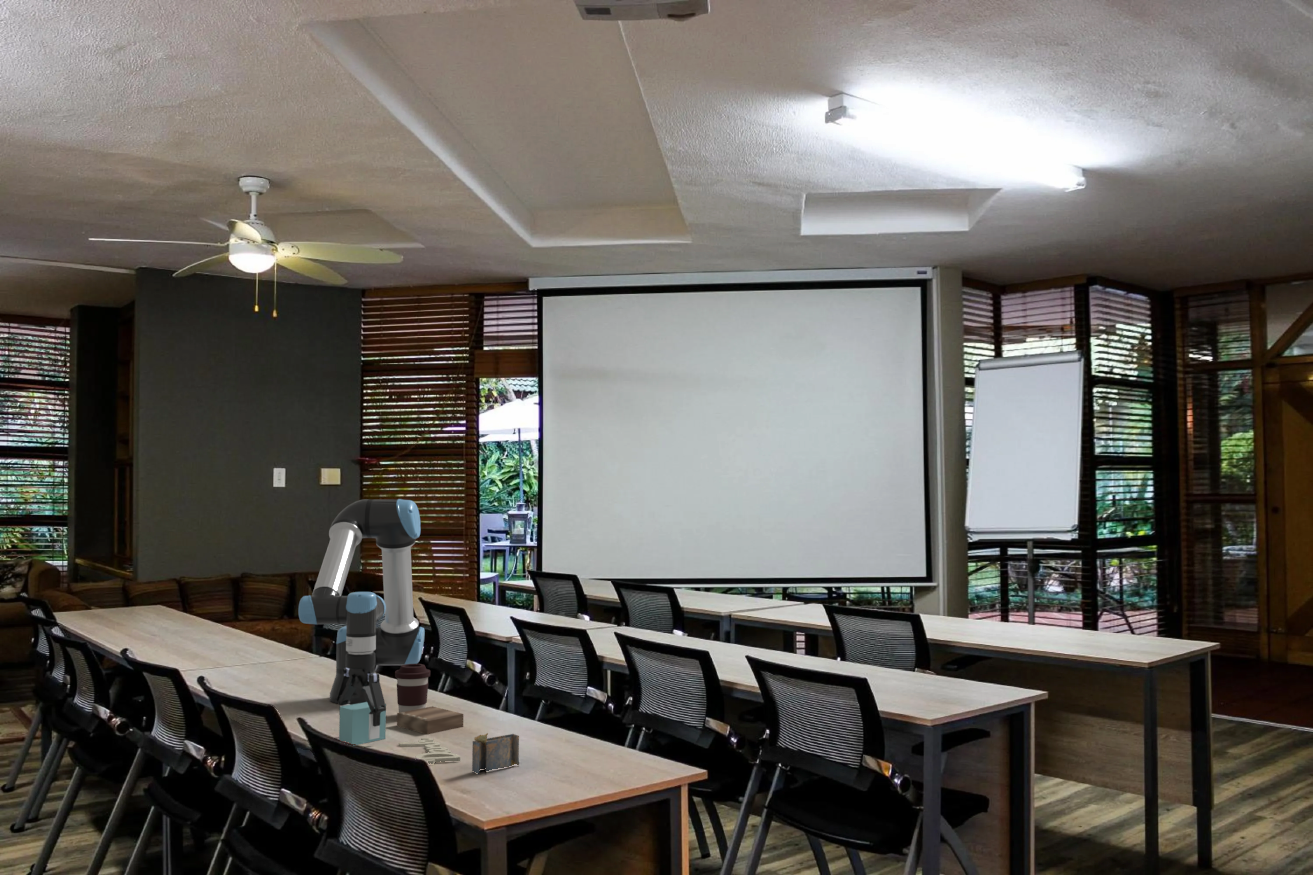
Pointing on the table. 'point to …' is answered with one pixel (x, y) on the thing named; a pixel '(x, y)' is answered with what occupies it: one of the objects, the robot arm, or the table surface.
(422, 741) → the decorative sign
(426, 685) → the coffee cup
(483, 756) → the rusty metal bracket
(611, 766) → the table surface
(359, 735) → the light teal block
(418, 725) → the brown block
